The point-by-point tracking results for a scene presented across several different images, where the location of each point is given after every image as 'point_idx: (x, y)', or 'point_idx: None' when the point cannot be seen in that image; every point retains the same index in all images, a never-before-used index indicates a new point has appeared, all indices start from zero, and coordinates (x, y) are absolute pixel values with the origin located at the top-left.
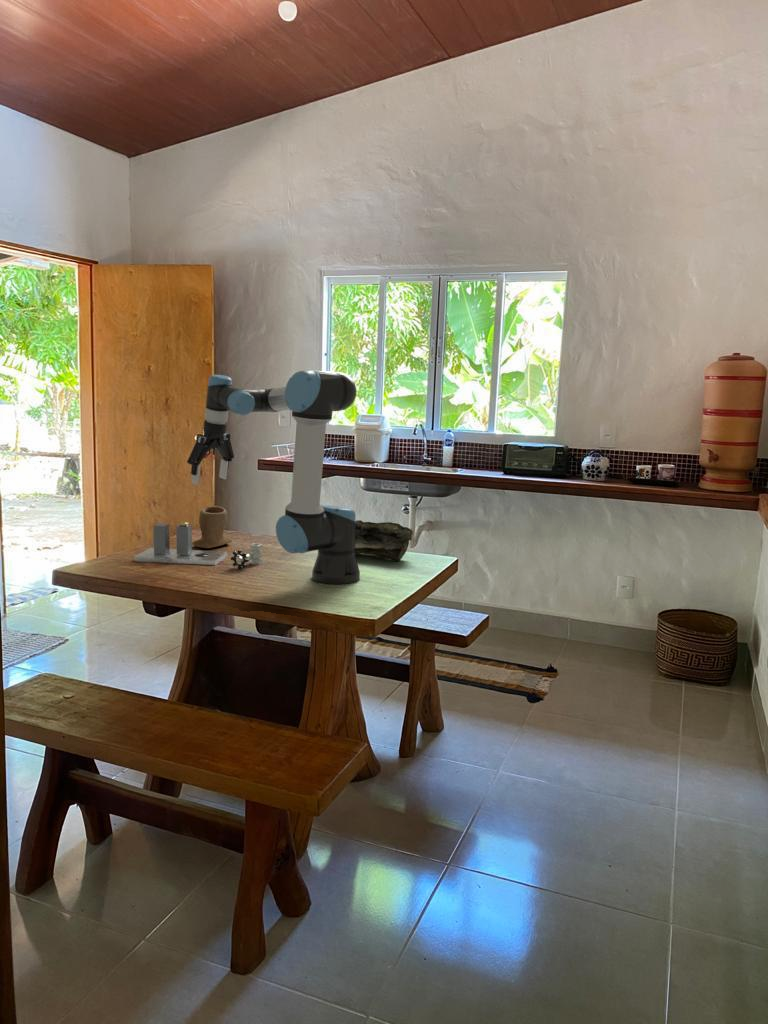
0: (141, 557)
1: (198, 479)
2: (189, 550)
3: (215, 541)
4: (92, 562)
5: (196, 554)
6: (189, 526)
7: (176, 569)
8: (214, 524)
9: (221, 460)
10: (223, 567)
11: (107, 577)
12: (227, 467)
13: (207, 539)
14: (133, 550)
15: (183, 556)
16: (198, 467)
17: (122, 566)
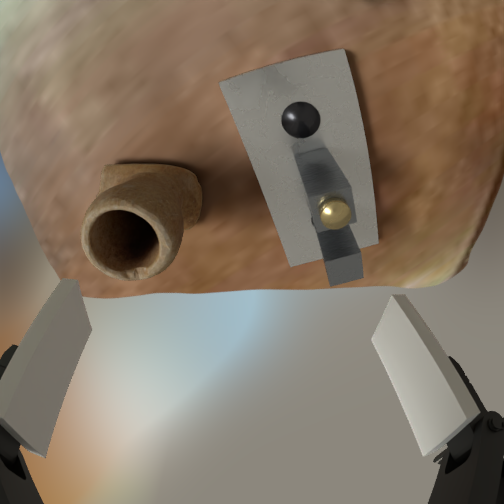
0: (377, 229)
1: (415, 323)
2: (318, 154)
3: (162, 174)
4: (399, 281)
5: (304, 134)
6: (333, 190)
7: (414, 118)
8: (162, 193)
9: (44, 449)
10: (350, 18)
11: (482, 203)
12: (13, 355)
13: (179, 192)
14: (291, 289)
15: (337, 153)
16: (474, 407)
17: (417, 228)
